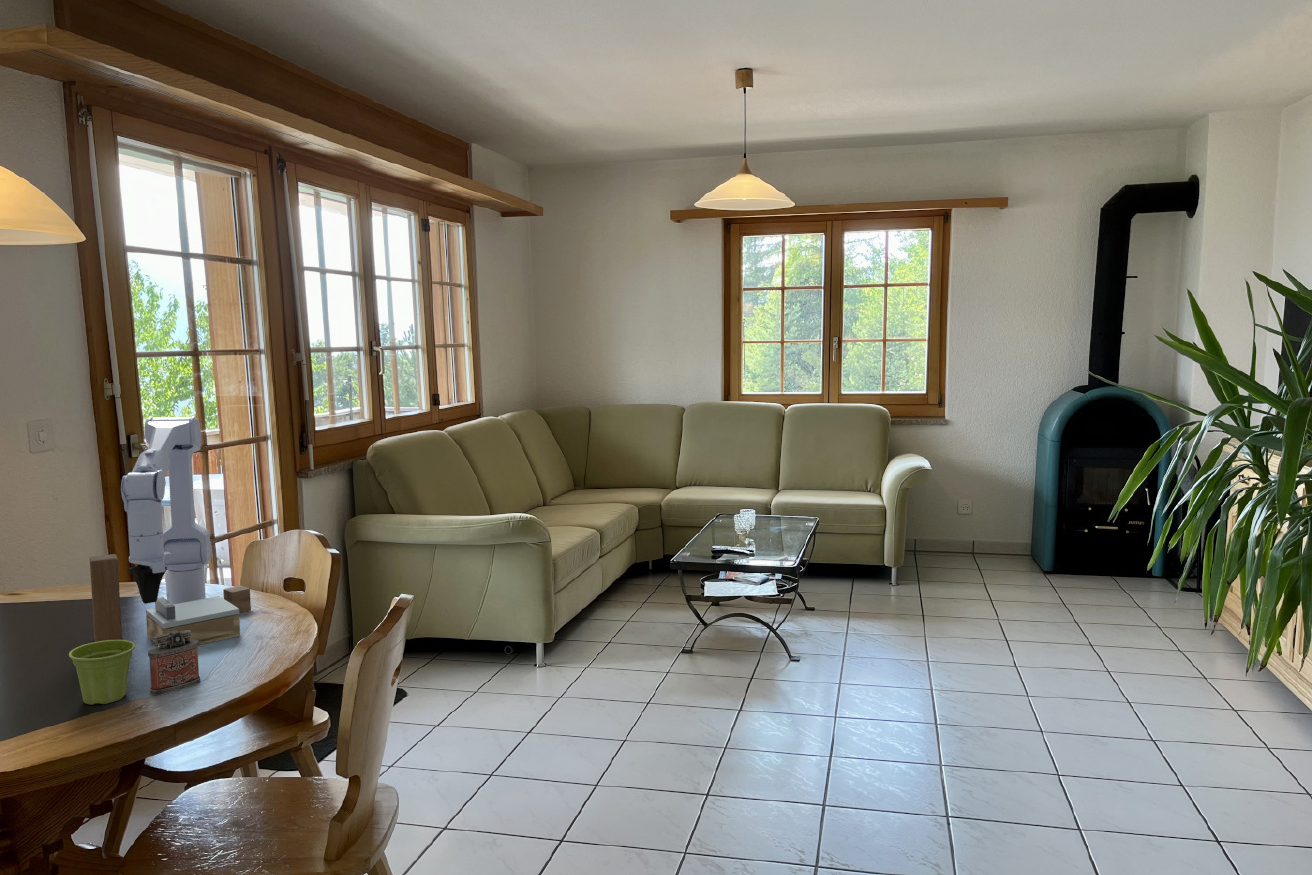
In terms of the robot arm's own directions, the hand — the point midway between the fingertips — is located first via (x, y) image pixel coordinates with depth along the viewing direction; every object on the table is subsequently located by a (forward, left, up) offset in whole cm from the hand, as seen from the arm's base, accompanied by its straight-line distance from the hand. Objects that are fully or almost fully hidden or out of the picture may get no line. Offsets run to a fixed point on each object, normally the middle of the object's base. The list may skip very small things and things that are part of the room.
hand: (149, 602), depth 169 cm
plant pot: (+20, -12, -10) cm, 26 cm away
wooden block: (-10, -5, -10) cm, 15 cm away
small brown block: (-15, +21, -10) cm, 27 cm away
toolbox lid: (-3, +8, -5) cm, 10 cm away
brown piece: (-3, +8, -10) cm, 13 cm away
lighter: (+23, -2, -10) cm, 25 cm away
